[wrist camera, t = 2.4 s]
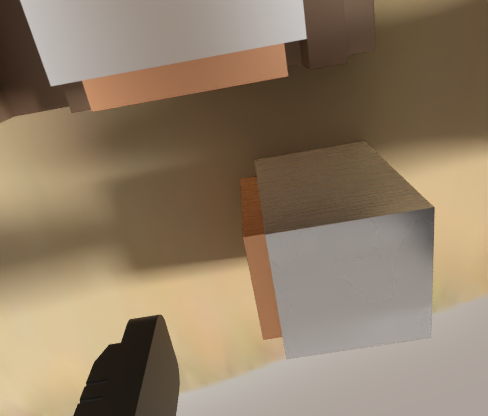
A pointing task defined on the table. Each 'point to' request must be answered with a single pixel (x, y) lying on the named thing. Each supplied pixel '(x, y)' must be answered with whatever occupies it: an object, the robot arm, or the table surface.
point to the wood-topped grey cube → (337, 250)
